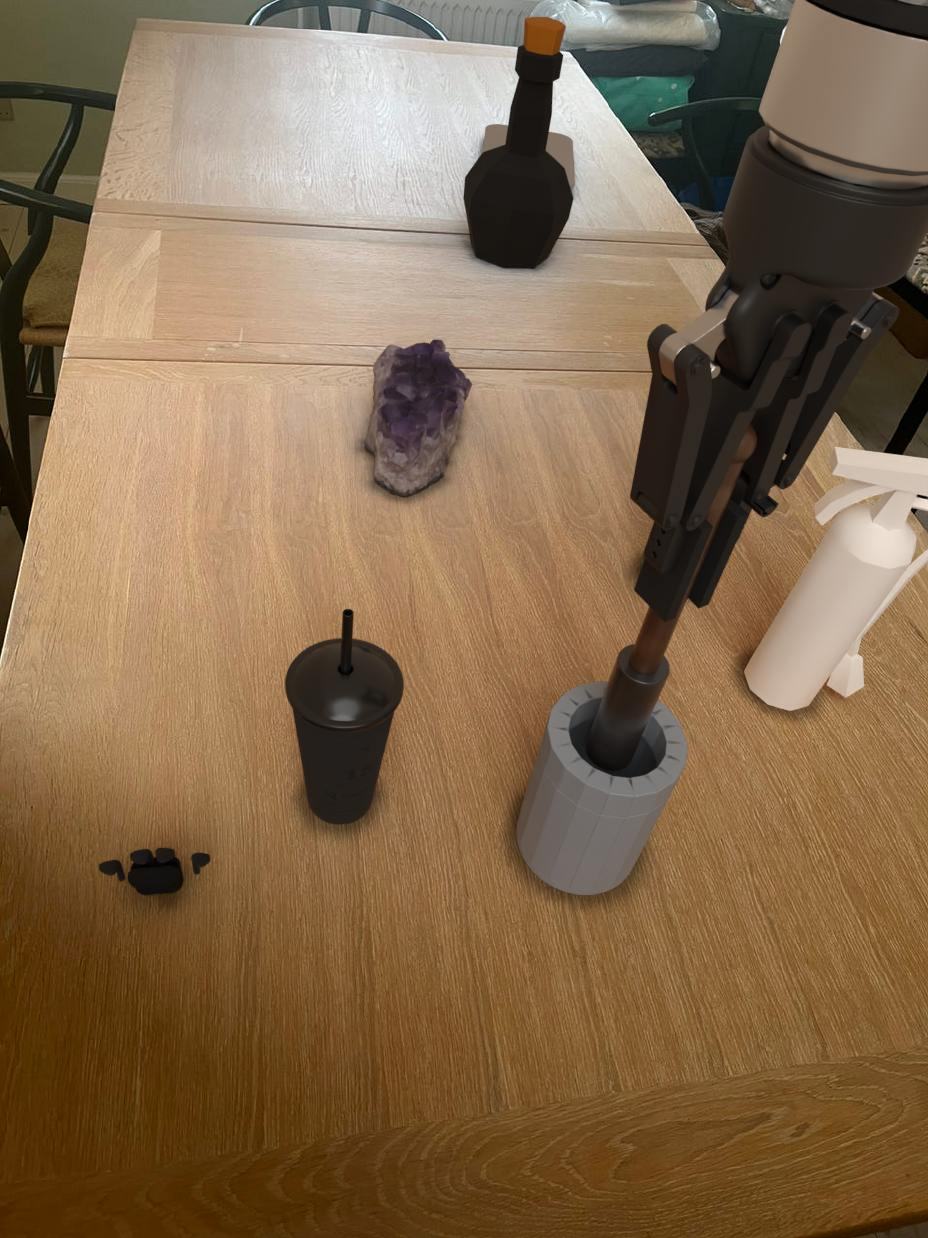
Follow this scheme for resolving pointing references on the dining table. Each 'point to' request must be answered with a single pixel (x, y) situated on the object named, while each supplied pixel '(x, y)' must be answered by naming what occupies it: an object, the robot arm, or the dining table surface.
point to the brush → (649, 656)
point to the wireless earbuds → (154, 870)
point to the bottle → (522, 165)
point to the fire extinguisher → (843, 580)
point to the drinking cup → (343, 720)
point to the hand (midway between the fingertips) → (671, 596)
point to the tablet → (556, 147)
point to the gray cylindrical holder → (594, 797)
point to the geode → (414, 415)
